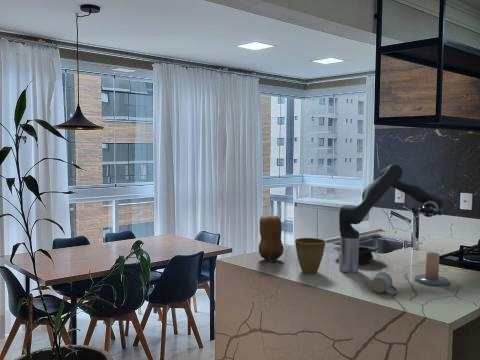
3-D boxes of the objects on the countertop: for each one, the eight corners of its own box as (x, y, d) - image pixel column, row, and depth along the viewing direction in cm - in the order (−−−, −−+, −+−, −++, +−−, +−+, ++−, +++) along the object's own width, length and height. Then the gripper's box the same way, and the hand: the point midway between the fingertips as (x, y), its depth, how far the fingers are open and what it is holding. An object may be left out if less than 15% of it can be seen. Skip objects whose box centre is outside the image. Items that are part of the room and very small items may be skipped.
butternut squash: (266, 256, 264) (267, 212, 262) (287, 259, 257) (288, 214, 255) (253, 261, 253) (254, 215, 251) (274, 265, 246) (275, 218, 243)
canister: (427, 280, 219) (428, 254, 218) (423, 276, 225) (425, 252, 224) (439, 280, 218) (441, 255, 218) (436, 277, 224) (437, 252, 223)
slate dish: (419, 285, 215) (419, 282, 215) (411, 276, 230) (411, 273, 230) (453, 286, 213) (453, 284, 213) (442, 277, 228) (443, 274, 228)
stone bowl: (369, 268, 241) (368, 251, 240) (324, 264, 256) (324, 247, 255) (386, 258, 260) (385, 242, 260) (344, 255, 276) (343, 239, 275)
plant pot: (330, 272, 233) (331, 241, 232) (311, 278, 224) (311, 245, 222) (307, 266, 245) (308, 236, 243) (288, 271, 235) (288, 239, 233)
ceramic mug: (369, 292, 204) (370, 274, 204) (375, 287, 211) (376, 270, 210) (394, 297, 199) (395, 279, 198) (399, 292, 205) (400, 274, 205)
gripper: (415, 200, 253) (410, 204, 239) (444, 203, 246) (440, 206, 232) (415, 214, 254) (409, 218, 240) (443, 217, 247) (439, 221, 233)
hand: (424, 212), depth 236 cm, fingers open, 8 cm apart
